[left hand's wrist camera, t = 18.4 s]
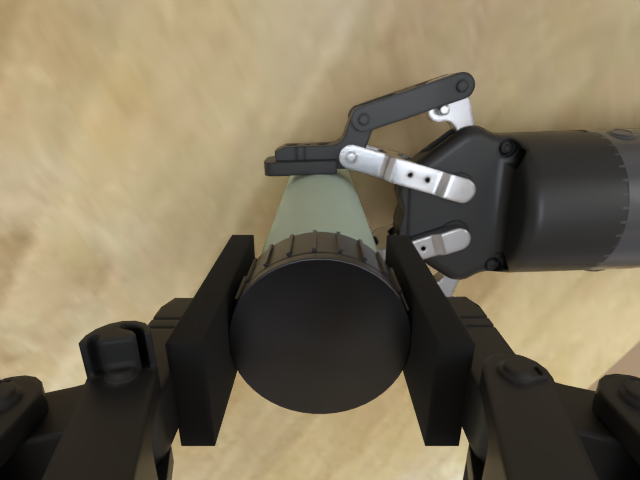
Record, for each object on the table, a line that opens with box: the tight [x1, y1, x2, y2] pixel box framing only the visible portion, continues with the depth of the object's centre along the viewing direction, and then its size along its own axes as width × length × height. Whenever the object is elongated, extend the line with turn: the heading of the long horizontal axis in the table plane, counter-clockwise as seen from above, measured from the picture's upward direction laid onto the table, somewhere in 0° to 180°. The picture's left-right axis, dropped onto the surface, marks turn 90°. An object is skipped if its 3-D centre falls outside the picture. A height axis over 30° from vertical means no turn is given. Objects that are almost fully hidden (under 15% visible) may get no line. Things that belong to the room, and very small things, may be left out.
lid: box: [228, 230, 412, 414], centre depth 11 cm, size 5×5×2 cm
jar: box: [262, 169, 378, 254], centre depth 19 cm, size 4×4×18 cm
